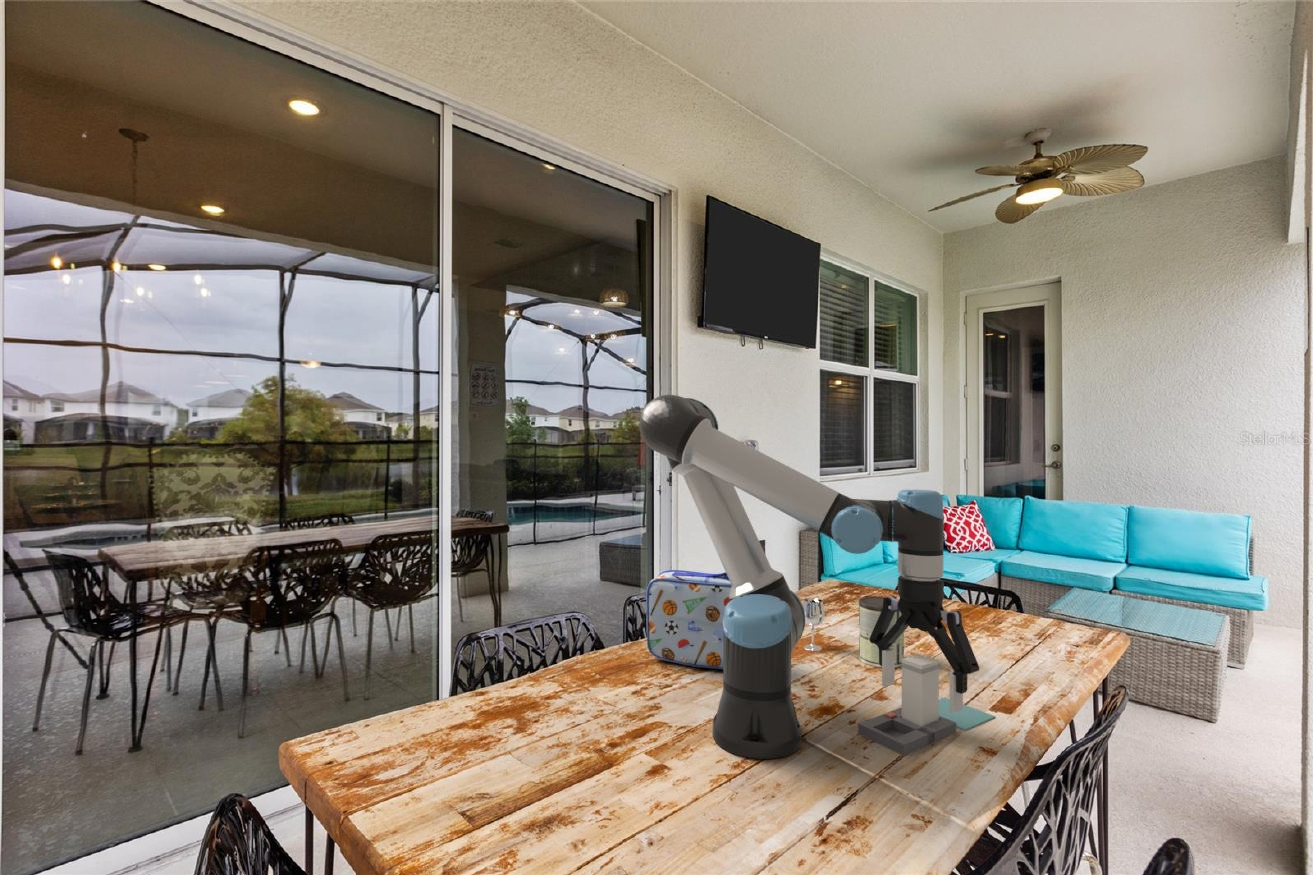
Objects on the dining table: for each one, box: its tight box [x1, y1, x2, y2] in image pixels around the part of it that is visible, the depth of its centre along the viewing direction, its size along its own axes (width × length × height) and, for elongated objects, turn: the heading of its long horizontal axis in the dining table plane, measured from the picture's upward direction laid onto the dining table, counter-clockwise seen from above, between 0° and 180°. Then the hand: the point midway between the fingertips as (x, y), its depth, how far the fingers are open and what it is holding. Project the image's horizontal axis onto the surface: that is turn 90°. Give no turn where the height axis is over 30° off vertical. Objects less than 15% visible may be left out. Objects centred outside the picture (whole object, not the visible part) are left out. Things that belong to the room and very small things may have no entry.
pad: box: [939, 697, 996, 732], centre depth 115 cm, size 10×10×1 cm
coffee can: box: [858, 596, 905, 669], centre depth 145 cm, size 10×10×14 cm
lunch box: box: [645, 569, 732, 670], centre depth 143 cm, size 28×10×22 cm, turn 71°
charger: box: [900, 654, 940, 727], centre depth 109 cm, size 5×4×12 cm
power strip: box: [857, 707, 957, 756], centre depth 107 cm, size 15×9×3 cm, turn 123°
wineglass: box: [802, 597, 826, 652], centre depth 154 cm, size 6×6×12 cm
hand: (920, 697), depth 109 cm, fingers open, 12 cm apart
